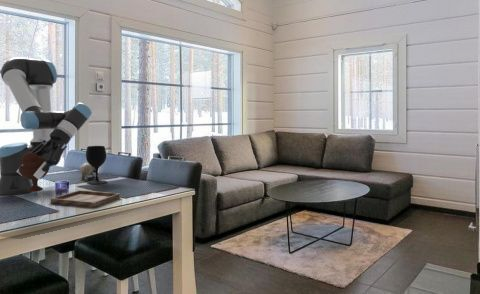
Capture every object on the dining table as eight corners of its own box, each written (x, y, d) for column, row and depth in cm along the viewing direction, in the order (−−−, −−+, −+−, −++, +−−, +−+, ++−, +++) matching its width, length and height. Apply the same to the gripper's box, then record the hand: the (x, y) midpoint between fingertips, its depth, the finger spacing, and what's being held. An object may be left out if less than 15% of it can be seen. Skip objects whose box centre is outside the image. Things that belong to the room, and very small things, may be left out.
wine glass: (100, 185, 200) (99, 147, 198) (82, 184, 202) (81, 147, 200) (110, 181, 210) (109, 145, 208) (93, 180, 212) (92, 145, 210)
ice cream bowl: (30, 194, 141) (28, 155, 139) (13, 190, 147) (12, 152, 145) (56, 189, 150) (55, 152, 148) (39, 185, 156) (38, 150, 154)
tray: (50, 203, 160) (50, 198, 159) (79, 194, 177) (79, 190, 177) (94, 207, 153) (94, 202, 153) (120, 198, 171) (120, 193, 170)
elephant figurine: (71, 176, 208) (80, 153, 216) (80, 186, 220) (87, 164, 228) (85, 178, 208) (93, 154, 216) (93, 188, 220) (100, 165, 228)
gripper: (86, 141, 153) (52, 185, 142) (52, 137, 165) (18, 177, 154) (75, 129, 148) (38, 173, 137) (40, 126, 160) (4, 166, 149)
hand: (27, 175), depth 145 cm, fingers closed on ice cream bowl, 11 cm apart
